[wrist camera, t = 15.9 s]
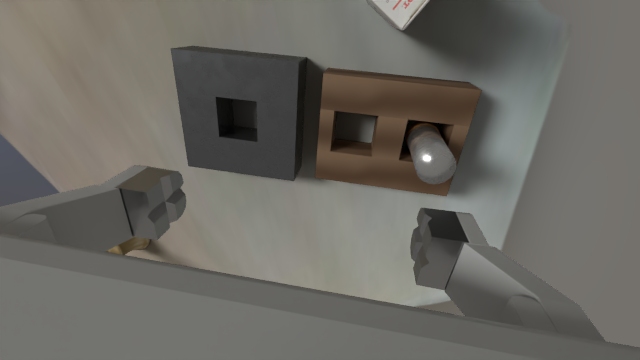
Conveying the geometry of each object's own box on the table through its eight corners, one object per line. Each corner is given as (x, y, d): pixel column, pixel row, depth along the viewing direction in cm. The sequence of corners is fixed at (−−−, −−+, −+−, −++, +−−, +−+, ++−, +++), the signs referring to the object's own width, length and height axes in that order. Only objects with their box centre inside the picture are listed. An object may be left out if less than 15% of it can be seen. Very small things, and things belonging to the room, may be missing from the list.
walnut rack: (328, 67, 39) (323, 73, 35) (468, 82, 38) (481, 90, 33) (320, 163, 46) (315, 177, 42) (439, 179, 44) (446, 196, 40)
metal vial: (407, 114, 41) (420, 145, 30) (438, 117, 40) (462, 151, 30) (401, 142, 43) (410, 182, 32) (430, 146, 42) (450, 187, 32)
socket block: (192, 45, 41) (170, 48, 36) (306, 57, 39) (298, 61, 35) (204, 153, 48) (188, 165, 44) (301, 166, 47) (293, 181, 42)
